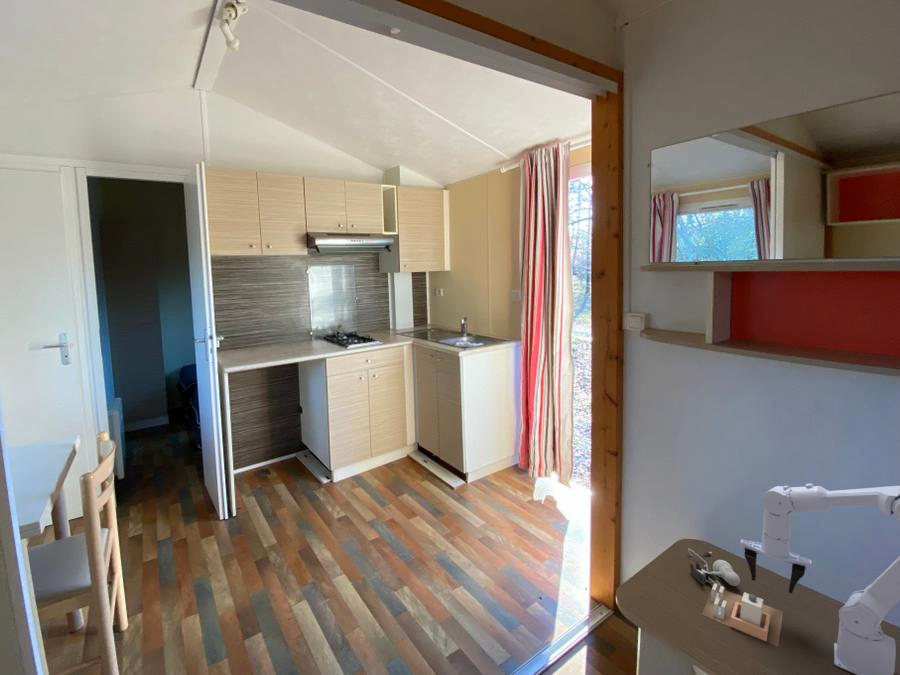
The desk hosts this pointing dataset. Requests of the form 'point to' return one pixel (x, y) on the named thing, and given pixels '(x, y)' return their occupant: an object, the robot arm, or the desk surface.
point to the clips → (718, 602)
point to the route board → (731, 599)
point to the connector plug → (751, 609)
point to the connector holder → (748, 626)
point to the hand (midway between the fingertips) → (771, 584)
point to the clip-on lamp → (719, 568)
